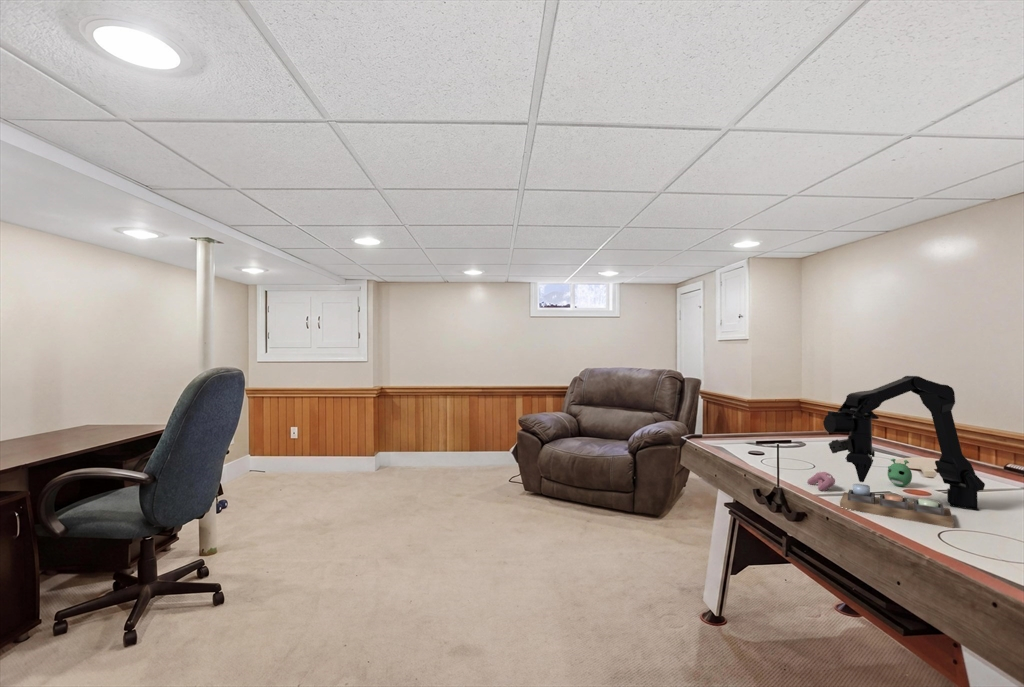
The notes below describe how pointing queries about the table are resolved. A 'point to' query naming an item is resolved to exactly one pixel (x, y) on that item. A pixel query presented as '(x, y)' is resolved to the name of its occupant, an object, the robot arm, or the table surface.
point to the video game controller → (822, 480)
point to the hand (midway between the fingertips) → (861, 481)
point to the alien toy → (899, 473)
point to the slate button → (861, 490)
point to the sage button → (928, 502)
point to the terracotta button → (893, 497)
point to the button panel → (898, 509)
